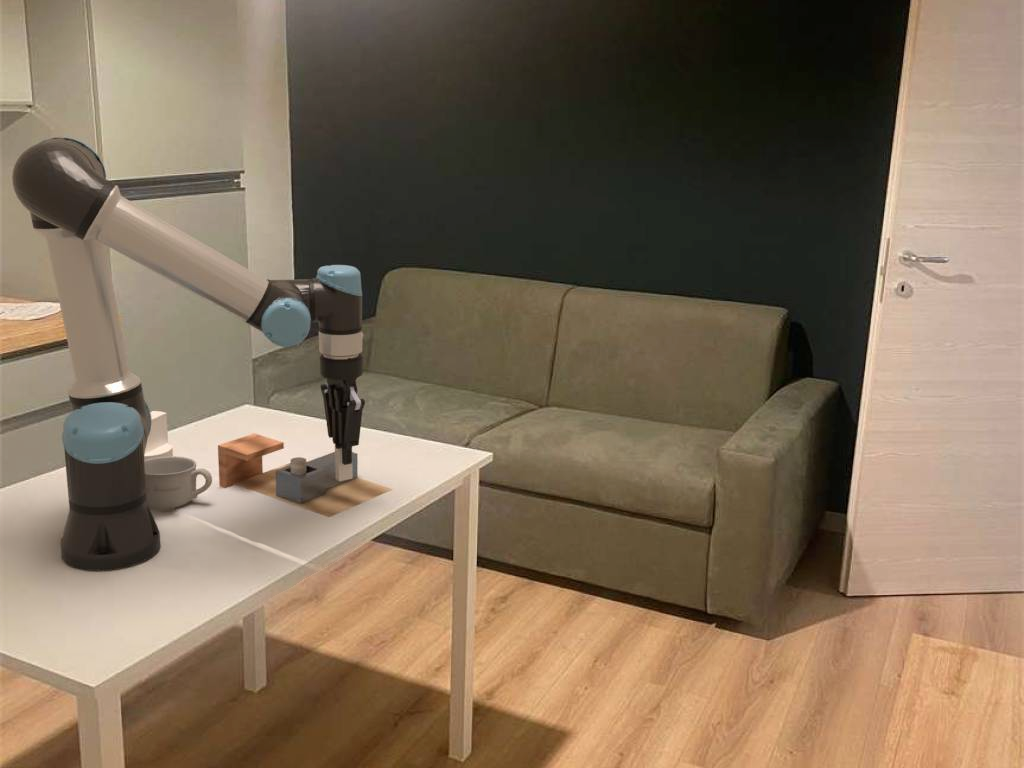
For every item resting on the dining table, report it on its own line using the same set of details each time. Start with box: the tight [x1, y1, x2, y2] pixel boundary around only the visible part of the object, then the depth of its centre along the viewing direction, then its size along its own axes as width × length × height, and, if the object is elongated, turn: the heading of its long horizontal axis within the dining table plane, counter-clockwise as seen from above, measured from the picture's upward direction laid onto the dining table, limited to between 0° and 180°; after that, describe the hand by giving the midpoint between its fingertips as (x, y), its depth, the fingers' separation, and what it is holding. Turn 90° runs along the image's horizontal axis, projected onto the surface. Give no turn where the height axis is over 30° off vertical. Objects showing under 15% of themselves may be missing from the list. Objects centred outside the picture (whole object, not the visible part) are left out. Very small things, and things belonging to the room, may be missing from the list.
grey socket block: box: [275, 451, 359, 504], centre depth 197 cm, size 16×6×5 cm, turn 145°
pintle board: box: [217, 433, 393, 518], centre depth 198 cm, size 18×28×8 cm, turn 55°
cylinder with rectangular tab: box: [144, 410, 174, 460], centre depth 201 cm, size 9×9×12 cm
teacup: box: [144, 455, 213, 512], centre depth 188 cm, size 14×11×8 cm
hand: (344, 478), depth 192 cm, fingers closed
